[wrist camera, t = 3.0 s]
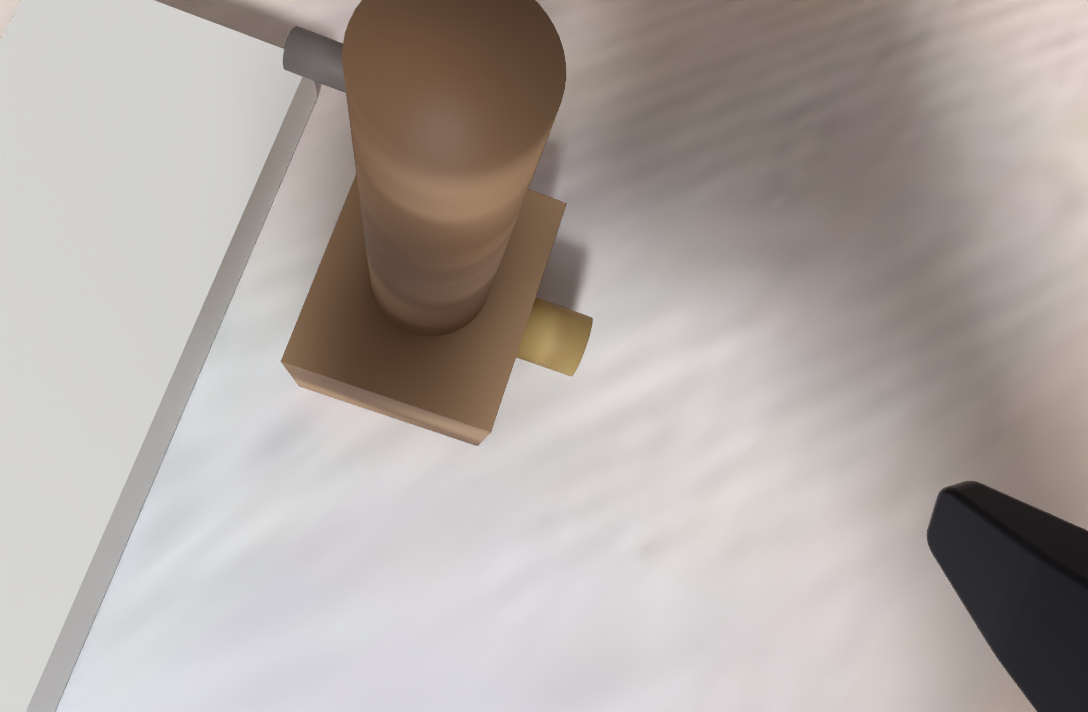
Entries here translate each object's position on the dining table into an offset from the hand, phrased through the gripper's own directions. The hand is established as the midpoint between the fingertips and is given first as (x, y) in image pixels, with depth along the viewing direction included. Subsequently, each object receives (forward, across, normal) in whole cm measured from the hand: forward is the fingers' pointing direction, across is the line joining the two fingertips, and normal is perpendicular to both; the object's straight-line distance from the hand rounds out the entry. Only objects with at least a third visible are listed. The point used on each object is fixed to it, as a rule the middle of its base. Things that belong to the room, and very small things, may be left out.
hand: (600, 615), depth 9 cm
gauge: (+14, 0, +4) cm, 15 cm away
